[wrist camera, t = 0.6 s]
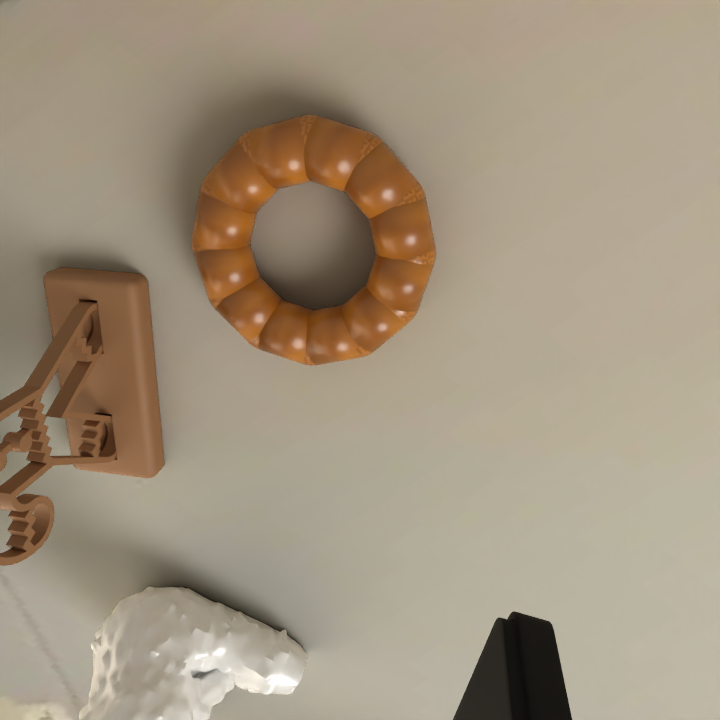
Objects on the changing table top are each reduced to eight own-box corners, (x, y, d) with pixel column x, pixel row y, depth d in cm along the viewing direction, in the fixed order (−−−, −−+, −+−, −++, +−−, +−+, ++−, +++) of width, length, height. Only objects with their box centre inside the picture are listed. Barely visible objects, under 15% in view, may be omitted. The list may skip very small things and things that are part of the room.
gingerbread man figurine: (164, 469, 26) (-50, 722, 15) (83, 459, 26) (-183, 697, 15) (147, 274, 22) (-147, 411, 11) (54, 266, 23) (-315, 390, 12)
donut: (231, 87, 20) (208, 82, 18) (467, 162, 19) (470, 165, 17) (190, 312, 23) (167, 328, 21) (392, 379, 23) (387, 401, 21)
